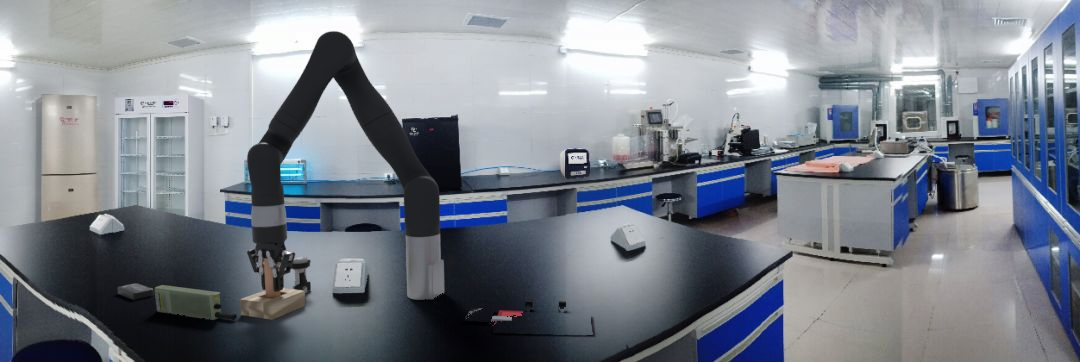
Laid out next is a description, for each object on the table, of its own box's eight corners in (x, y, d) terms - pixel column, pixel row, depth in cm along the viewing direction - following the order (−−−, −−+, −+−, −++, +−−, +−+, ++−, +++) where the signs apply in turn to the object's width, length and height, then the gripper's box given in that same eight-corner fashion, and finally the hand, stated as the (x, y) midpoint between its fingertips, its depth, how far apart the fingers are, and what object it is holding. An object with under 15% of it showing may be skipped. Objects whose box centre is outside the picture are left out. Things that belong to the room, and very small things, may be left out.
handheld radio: (168, 308, 119) (241, 319, 112) (154, 313, 116) (229, 325, 109) (165, 283, 118) (239, 293, 111) (151, 288, 115) (226, 298, 108)
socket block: (305, 305, 120) (304, 290, 120) (272, 319, 111) (271, 303, 110) (275, 301, 123) (275, 286, 123) (241, 314, 114) (240, 299, 114)
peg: (283, 302, 118) (281, 256, 117) (272, 306, 115) (270, 259, 114) (274, 300, 119) (271, 255, 118) (263, 305, 116) (260, 258, 115)
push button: (300, 298, 126) (298, 262, 125) (283, 297, 127) (281, 261, 126) (316, 290, 132) (314, 256, 132) (299, 289, 133) (297, 255, 132)
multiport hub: (134, 301, 125) (133, 293, 124) (117, 294, 130) (116, 286, 130) (154, 296, 128) (153, 288, 128) (137, 290, 134) (136, 282, 134)
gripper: (303, 221, 116) (306, 288, 118) (261, 218, 121) (264, 282, 122) (278, 227, 109) (281, 297, 111) (234, 223, 114) (238, 291, 115)
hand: (272, 289), depth 117 cm, fingers closed on peg, 3 cm apart
